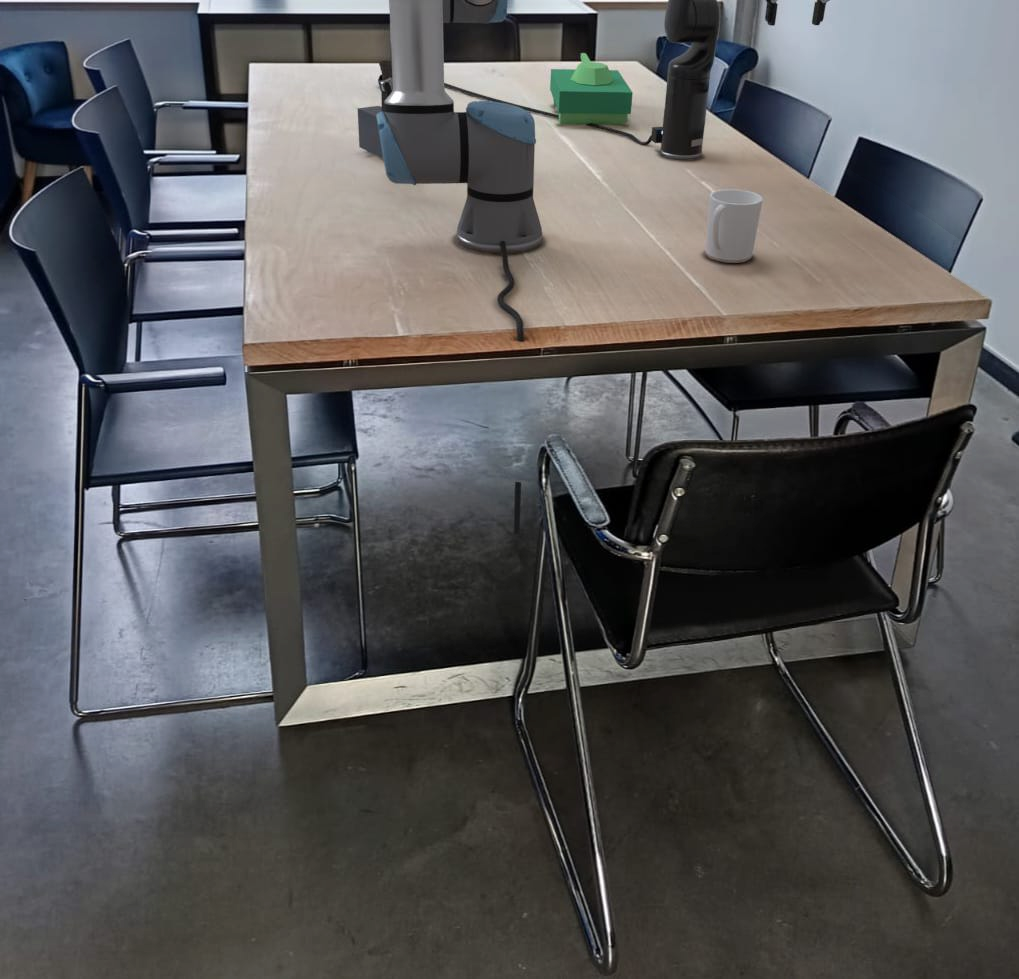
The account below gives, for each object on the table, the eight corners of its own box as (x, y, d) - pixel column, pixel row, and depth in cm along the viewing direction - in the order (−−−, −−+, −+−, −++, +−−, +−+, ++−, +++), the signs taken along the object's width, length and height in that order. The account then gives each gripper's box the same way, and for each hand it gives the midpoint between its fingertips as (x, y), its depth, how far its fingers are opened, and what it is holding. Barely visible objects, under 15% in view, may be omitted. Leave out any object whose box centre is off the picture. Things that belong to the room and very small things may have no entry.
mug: (719, 243, 196) (726, 186, 191) (763, 254, 192) (772, 196, 186) (686, 258, 189) (693, 199, 184) (732, 271, 184) (740, 210, 179)
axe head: (443, 87, 294) (392, 77, 287) (436, 115, 299) (385, 106, 292) (421, 62, 307) (371, 52, 300) (414, 89, 311) (365, 80, 304)
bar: (432, 168, 232) (432, 127, 228) (410, 171, 229) (409, 130, 225) (380, 144, 248) (379, 105, 244) (359, 147, 245) (357, 108, 241)
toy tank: (615, 49, 292) (633, 76, 262) (611, 97, 298) (629, 128, 269) (549, 48, 291) (560, 74, 261) (547, 96, 297) (558, 127, 268)
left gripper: (438, 39, 228) (439, 152, 240) (359, 47, 219) (365, 163, 231) (457, 45, 223) (458, 160, 235) (378, 53, 214) (382, 172, 226)
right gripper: (837, -76, 195) (822, 21, 204) (761, -77, 193) (749, 21, 202) (854, -73, 189) (838, 28, 197) (775, -74, 187) (762, 28, 196)
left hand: (412, 161), depth 233 cm, fingers closed on bar, 5 cm apart
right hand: (793, 24), depth 200 cm, fingers open, 8 cm apart
